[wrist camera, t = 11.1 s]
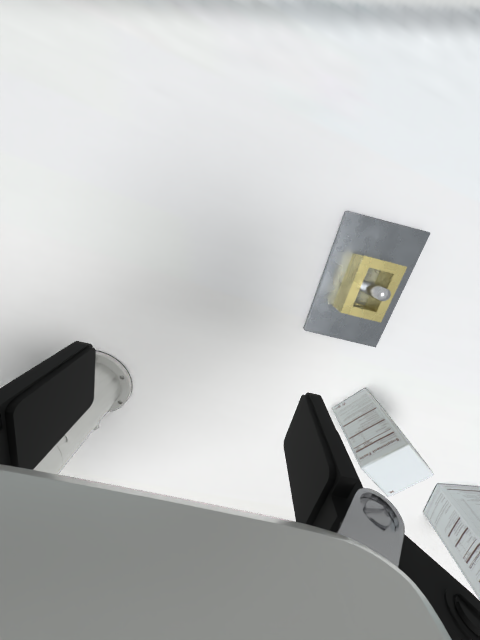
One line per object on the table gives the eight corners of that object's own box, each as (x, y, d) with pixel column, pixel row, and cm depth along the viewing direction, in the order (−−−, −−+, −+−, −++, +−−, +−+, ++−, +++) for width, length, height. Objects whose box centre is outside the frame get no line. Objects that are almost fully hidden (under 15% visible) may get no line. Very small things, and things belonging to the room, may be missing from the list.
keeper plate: (372, 344, 40) (396, 366, 34) (303, 328, 40) (314, 347, 33) (425, 232, 34) (467, 232, 28) (344, 211, 34) (368, 206, 27)
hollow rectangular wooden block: (369, 314, 38) (380, 322, 34) (332, 305, 37) (340, 312, 34) (392, 263, 35) (407, 266, 32) (353, 253, 35) (364, 255, 31)
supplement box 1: (386, 412, 45) (436, 476, 33) (351, 431, 47) (387, 499, 35) (365, 385, 43) (410, 444, 31) (330, 407, 45) (360, 470, 33)
